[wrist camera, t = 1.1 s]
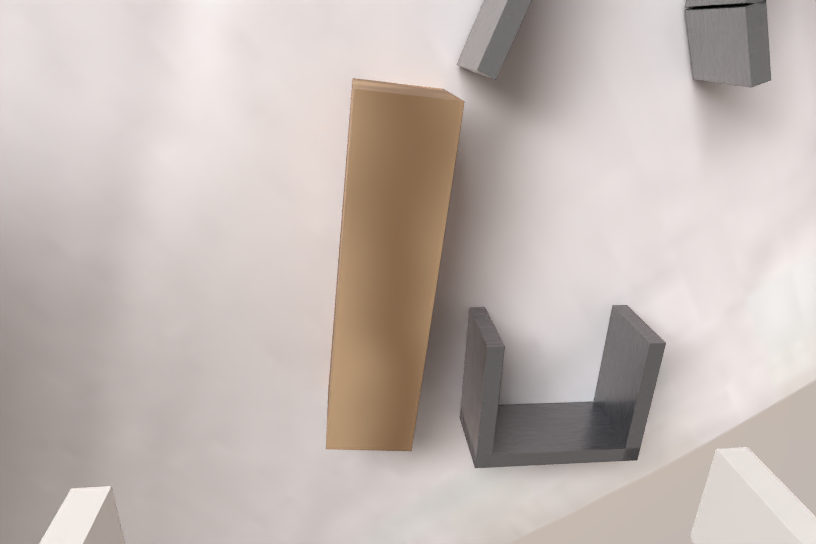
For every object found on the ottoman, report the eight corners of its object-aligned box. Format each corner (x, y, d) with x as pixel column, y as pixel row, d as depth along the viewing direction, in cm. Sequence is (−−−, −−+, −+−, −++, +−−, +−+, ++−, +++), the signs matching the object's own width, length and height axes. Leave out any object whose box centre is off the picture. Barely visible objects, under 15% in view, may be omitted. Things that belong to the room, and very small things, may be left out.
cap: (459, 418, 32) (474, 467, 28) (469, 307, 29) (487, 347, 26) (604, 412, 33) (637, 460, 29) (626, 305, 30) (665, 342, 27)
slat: (328, 386, 31) (325, 448, 26) (352, 78, 25) (354, 88, 20) (401, 389, 31) (411, 451, 27) (442, 88, 25) (464, 101, 21)
